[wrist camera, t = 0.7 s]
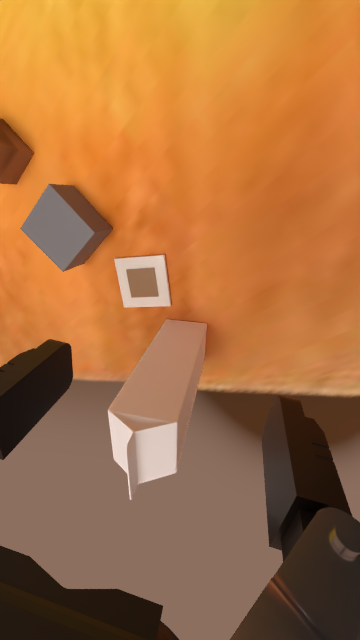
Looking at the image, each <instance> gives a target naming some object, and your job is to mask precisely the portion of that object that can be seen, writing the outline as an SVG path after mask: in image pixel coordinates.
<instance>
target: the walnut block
mask: <svg viewBox="0 0 360 640" xmlns="http://www.w3.org/2000/svg"><path fill="white" fill-rule="evenodd" d="M33 155H34V152H33V151H32V150H31V149H30V148H29V147H28V146H27V145H26V144H25V143H24V142H23V140H22V139H21V138H20V137H19V136H18V135H17V134H16V133H15V132H14V131H13V130H12V129H11V127H10V126H9V125H8V124H7V123H6V122H5V121H4V120H3V119H0V183H2V184H17V182H18V181H19V179H20V177H21V175H22V174H23V172H24V170H25V168H26V167H27V165H28V163H29V162H30V160H31V158H32V156H33Z"/></svg>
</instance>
